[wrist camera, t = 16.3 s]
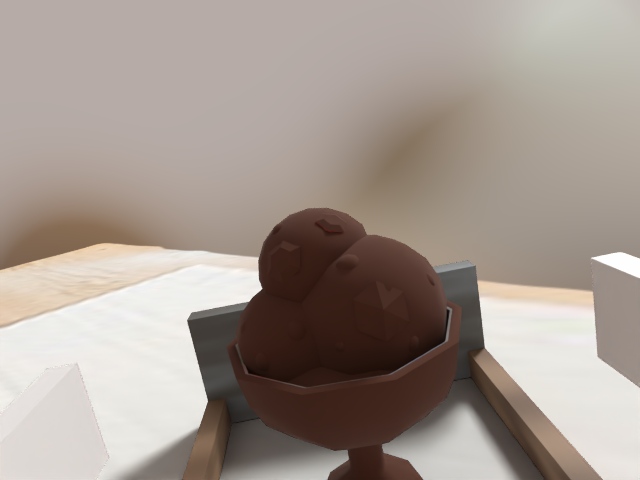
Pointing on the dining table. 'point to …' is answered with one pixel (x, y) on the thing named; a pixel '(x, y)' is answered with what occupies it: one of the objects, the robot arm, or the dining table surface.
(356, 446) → the ice cream bowl
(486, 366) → the frame
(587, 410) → the dining table surface
